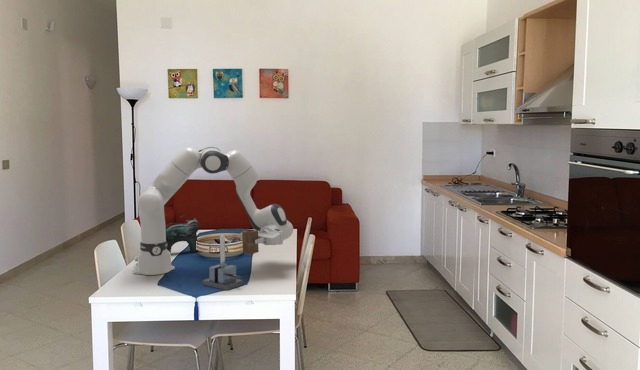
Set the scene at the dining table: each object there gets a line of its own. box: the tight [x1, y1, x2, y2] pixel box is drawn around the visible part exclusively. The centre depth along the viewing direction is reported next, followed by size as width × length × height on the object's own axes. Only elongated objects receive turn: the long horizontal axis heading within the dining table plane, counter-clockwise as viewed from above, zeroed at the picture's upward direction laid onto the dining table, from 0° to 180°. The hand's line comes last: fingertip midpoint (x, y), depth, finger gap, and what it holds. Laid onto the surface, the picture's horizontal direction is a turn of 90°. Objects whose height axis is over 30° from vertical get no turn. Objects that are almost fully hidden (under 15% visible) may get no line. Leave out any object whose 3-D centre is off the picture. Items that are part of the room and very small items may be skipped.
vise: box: [202, 233, 244, 291], centre depth 241 cm, size 17×10×22 cm, turn 57°
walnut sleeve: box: [241, 228, 259, 255], centre depth 255 cm, size 5×5×10 cm
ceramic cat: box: [166, 215, 200, 254], centre depth 297 cm, size 20×6×20 cm, turn 122°
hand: (249, 240), depth 254 cm, fingers closed on walnut sleeve, 5 cm apart
